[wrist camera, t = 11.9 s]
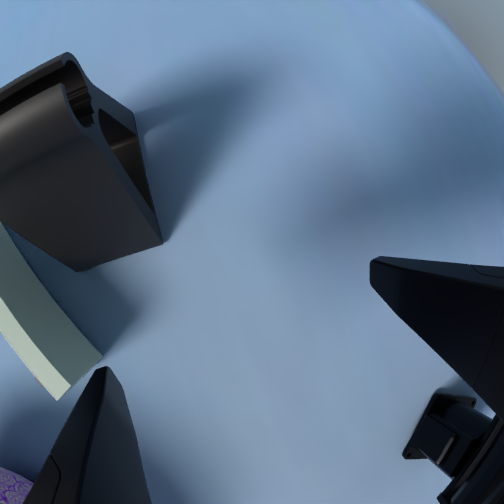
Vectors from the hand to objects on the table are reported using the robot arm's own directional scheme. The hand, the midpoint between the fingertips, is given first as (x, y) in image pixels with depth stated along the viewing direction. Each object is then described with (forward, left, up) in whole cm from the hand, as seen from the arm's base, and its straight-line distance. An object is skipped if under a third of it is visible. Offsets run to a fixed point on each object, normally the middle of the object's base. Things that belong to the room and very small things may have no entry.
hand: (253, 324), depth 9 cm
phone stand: (+10, -3, -10) cm, 14 cm away
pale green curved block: (+13, +5, -9) cm, 17 cm away
